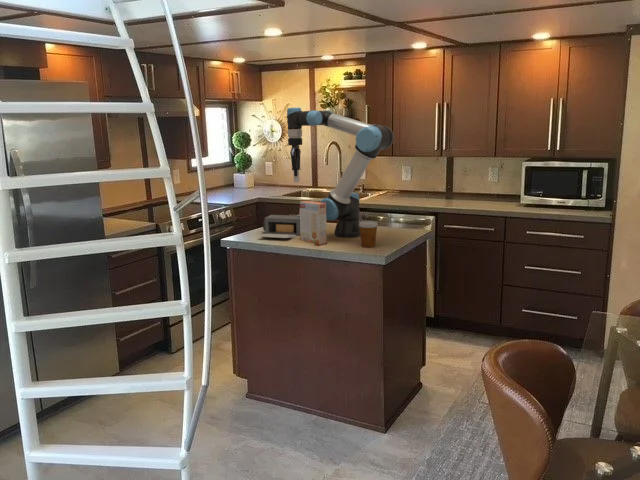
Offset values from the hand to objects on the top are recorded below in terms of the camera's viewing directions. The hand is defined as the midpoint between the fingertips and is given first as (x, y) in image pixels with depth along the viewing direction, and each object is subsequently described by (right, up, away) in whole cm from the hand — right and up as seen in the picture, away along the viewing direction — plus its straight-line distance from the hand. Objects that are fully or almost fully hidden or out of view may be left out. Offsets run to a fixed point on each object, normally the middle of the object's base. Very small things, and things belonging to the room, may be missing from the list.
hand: (296, 182), depth 312 cm
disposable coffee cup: (+36, -34, -24) cm, 55 cm away
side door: (-8, -28, -1) cm, 30 cm away
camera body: (-6, -28, +5) cm, 29 cm away
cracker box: (+9, -32, -15) cm, 37 cm away
